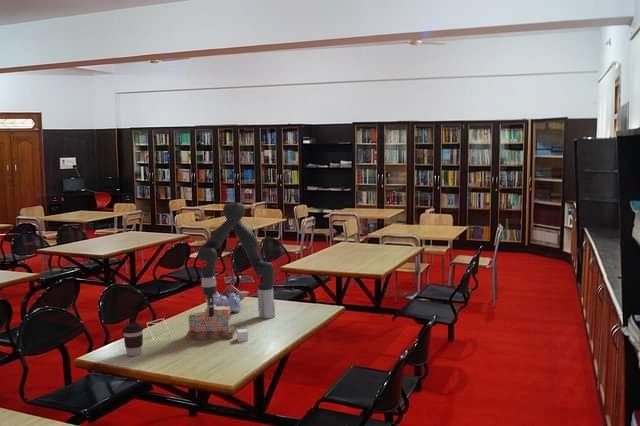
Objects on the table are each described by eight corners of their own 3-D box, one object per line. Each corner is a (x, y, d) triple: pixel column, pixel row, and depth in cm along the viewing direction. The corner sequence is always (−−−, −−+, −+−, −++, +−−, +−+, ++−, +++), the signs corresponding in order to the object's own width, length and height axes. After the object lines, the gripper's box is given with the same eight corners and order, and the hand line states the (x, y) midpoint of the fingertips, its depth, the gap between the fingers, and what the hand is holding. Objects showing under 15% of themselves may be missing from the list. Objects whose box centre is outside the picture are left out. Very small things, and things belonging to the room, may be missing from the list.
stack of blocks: (189, 332, 306) (187, 309, 305) (192, 328, 313) (190, 306, 311) (229, 331, 306) (227, 308, 304) (231, 328, 312) (230, 305, 311)
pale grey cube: (246, 338, 305) (246, 328, 304) (248, 340, 300) (247, 331, 300) (237, 339, 304) (236, 329, 303) (238, 341, 299) (238, 332, 298)
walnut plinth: (235, 333, 315) (234, 326, 314) (232, 339, 305) (232, 332, 304) (191, 335, 314) (190, 328, 314) (187, 341, 304) (186, 333, 304)
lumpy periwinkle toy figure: (207, 308, 348) (221, 283, 347) (208, 298, 369) (222, 274, 368) (236, 323, 352) (250, 298, 351) (236, 312, 373) (250, 289, 372)
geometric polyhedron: (143, 338, 309) (142, 322, 308) (161, 333, 318) (160, 317, 317) (157, 342, 301) (156, 326, 300) (174, 337, 310) (173, 320, 309)
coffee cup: (128, 350, 290) (126, 321, 288) (147, 350, 290) (145, 321, 288) (120, 357, 280) (118, 327, 278) (140, 357, 280) (139, 327, 278)
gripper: (217, 287, 301) (219, 317, 302) (214, 281, 314) (216, 310, 316) (202, 288, 299) (204, 319, 300) (200, 282, 312) (202, 312, 314)
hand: (210, 314), depth 308 cm, fingers open, 8 cm apart
